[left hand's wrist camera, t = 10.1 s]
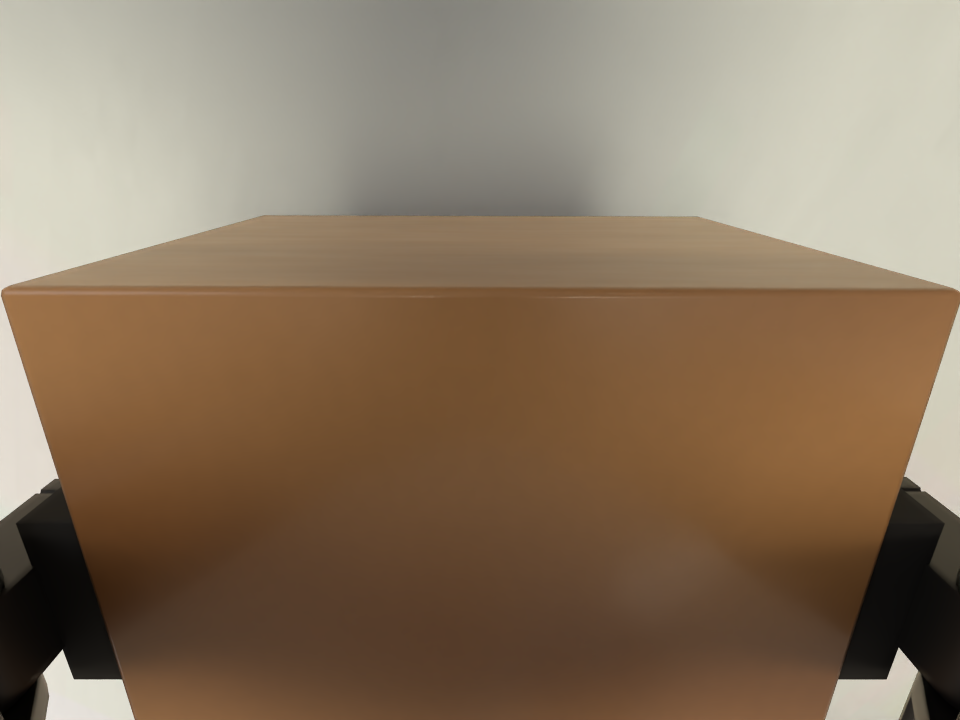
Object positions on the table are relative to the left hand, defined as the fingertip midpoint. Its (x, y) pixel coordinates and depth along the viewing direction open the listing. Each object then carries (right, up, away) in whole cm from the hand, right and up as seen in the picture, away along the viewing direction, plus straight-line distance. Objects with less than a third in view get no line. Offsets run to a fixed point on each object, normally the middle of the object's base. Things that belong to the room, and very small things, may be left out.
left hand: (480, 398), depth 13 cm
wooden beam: (0, -22, +9) cm, 23 cm away
